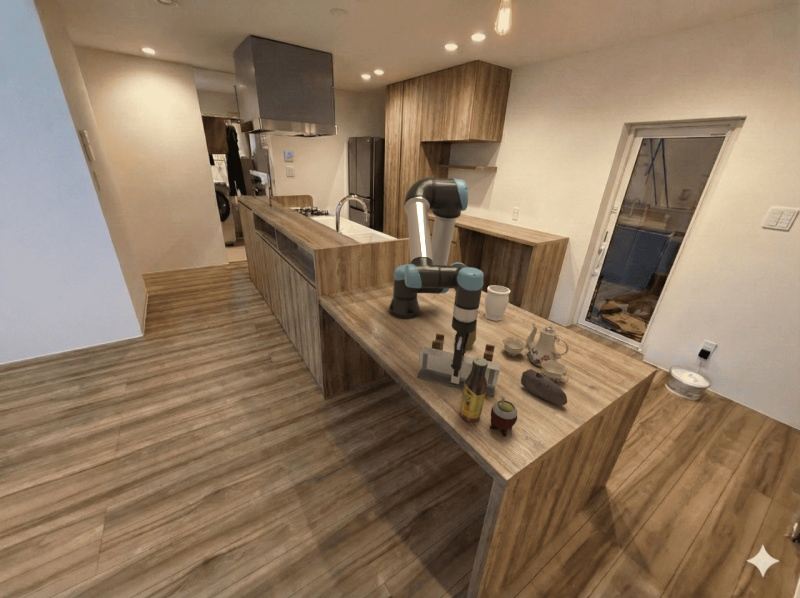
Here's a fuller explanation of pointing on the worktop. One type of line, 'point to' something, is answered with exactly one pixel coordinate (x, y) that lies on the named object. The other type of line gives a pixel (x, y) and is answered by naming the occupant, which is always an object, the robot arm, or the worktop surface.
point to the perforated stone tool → (543, 387)
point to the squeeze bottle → (471, 339)
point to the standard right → (489, 352)
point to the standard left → (438, 342)
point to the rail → (444, 359)
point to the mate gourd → (503, 416)
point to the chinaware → (541, 351)
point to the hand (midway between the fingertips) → (456, 378)
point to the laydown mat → (448, 380)
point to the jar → (496, 302)
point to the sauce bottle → (474, 390)
